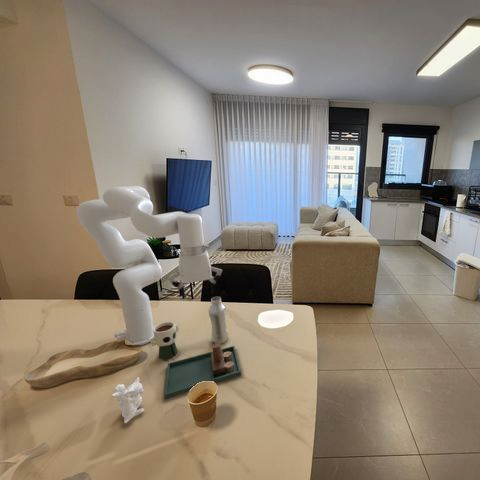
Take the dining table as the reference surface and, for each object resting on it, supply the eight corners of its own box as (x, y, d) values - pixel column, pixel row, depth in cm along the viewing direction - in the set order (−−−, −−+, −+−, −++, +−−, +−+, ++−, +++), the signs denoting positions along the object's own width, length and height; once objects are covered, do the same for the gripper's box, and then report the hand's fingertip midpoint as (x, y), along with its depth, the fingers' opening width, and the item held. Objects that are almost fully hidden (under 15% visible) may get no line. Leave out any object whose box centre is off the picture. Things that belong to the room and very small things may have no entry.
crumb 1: (223, 362, 97) (223, 357, 97) (223, 356, 100) (222, 352, 99) (232, 359, 98) (231, 355, 98) (231, 354, 101) (230, 350, 101)
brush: (213, 377, 90) (211, 355, 87) (211, 359, 99) (209, 338, 96) (225, 374, 92) (223, 352, 89) (222, 356, 100) (220, 336, 98)
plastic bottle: (223, 347, 106) (219, 303, 101) (208, 345, 108) (203, 301, 102) (231, 337, 112) (228, 295, 107) (217, 335, 114) (213, 294, 108)
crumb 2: (225, 373, 92) (225, 368, 91) (224, 367, 95) (224, 363, 94) (234, 370, 93) (234, 365, 93) (233, 364, 96) (232, 360, 95)
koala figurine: (127, 431, 72) (119, 396, 69) (109, 424, 74) (100, 390, 71) (153, 405, 80) (147, 373, 77) (136, 400, 82) (130, 368, 79)
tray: (165, 400, 82) (164, 395, 81) (168, 368, 95) (167, 363, 94) (241, 376, 92) (240, 371, 91) (234, 350, 105) (234, 345, 104)
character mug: (161, 368, 95) (156, 337, 91) (148, 362, 98) (143, 332, 94) (187, 350, 104) (183, 321, 101) (175, 345, 107) (171, 317, 104)
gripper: (218, 244, 97) (222, 286, 101) (165, 250, 90) (172, 295, 94) (220, 250, 90) (224, 294, 95) (163, 256, 83) (170, 304, 88)
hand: (198, 294), depth 94 cm, fingers open, 9 cm apart
